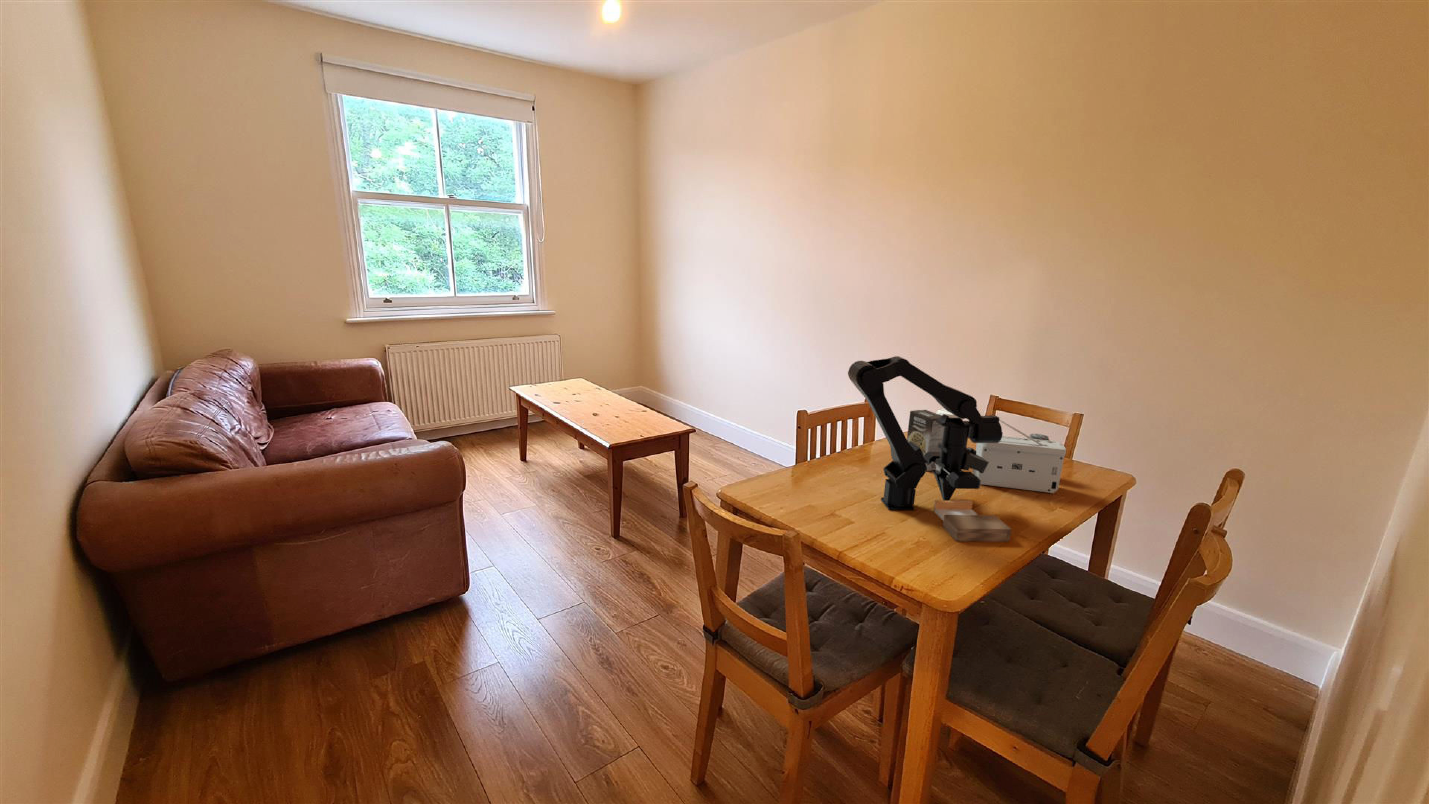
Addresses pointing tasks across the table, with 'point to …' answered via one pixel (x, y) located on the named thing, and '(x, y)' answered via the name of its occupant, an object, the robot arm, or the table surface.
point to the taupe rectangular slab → (976, 528)
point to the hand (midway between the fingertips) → (945, 501)
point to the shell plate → (953, 508)
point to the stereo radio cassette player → (1022, 463)
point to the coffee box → (925, 432)
